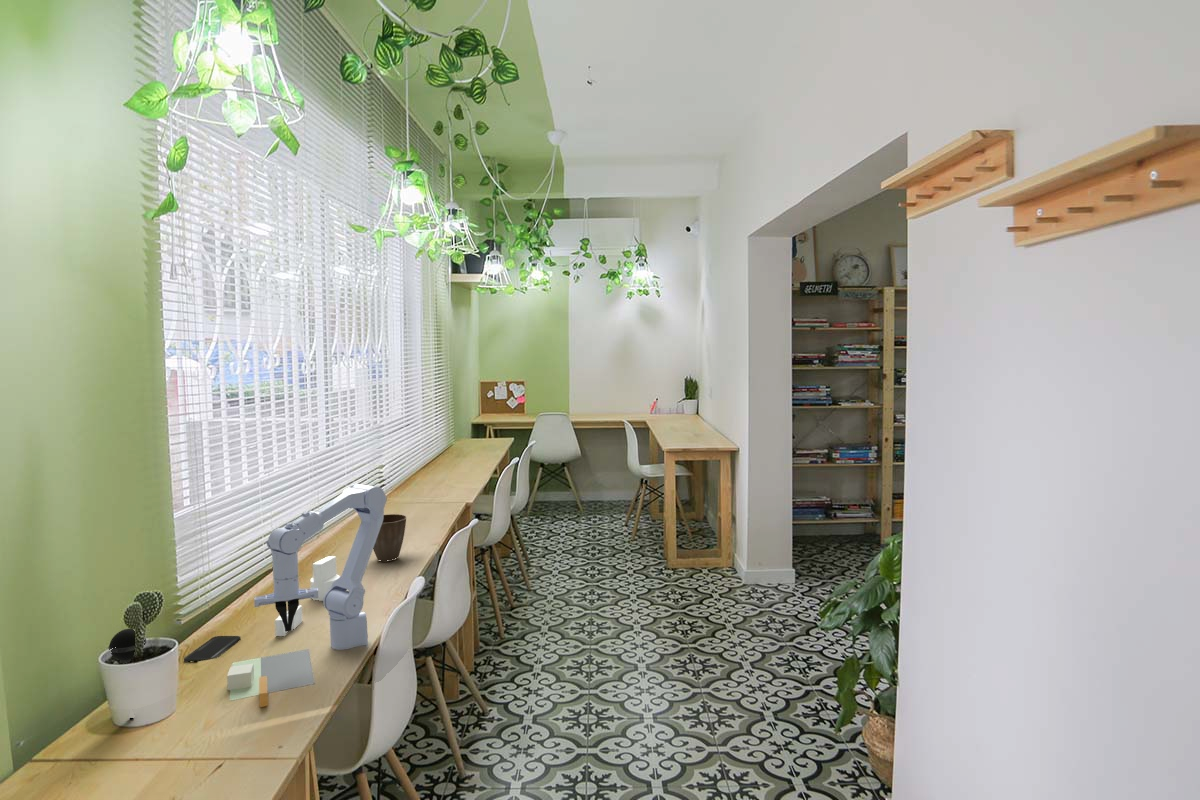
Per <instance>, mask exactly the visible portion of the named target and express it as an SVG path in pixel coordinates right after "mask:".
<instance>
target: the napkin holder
mask: <svg viewBox="0 0 1200 800" xmlns="http://www.w3.org/2000/svg"><path fill="white" fill-rule="evenodd" d="M287 622H288V610H287ZM302 622H303V605H301V604H299V606H298V608H297V610H296V613H295V615H294V618H293V622H292V628H291V631H294V630H293V629H295V628H296V627H297V626H298V625H299V626H300V624H301V623H302ZM299 626H298V627H299ZM298 627H297V628H298ZM297 628H296V629H297ZM296 629H295V630H296ZM274 632H275V634H274V635H275V636H284V637H285V636H286V635H287V634H288V633H289V632H288V631H285V627H284V623H283V621H282V618H281V616H280V615H278V617H277V618H275V619H274ZM287 632H288V633H287ZM286 633H287V634H286Z"/></svg>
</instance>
